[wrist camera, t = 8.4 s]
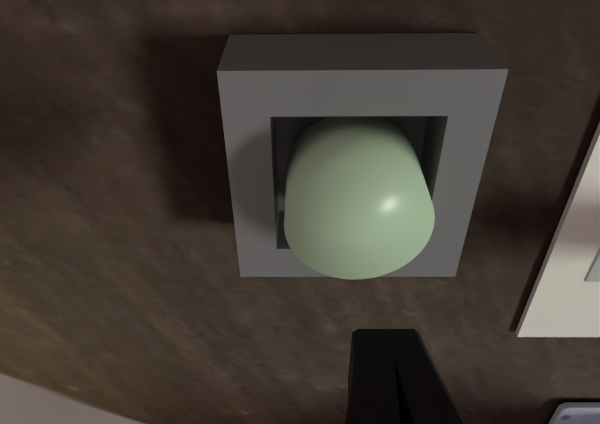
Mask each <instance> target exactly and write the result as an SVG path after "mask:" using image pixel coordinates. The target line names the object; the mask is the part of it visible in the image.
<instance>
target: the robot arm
mask: <svg viewBox="0 0 600 424" xmlns="http://www.w3.org/2000/svg"><path fill="white" fill-rule="evenodd" d="M345 424H467V423H466V421H465V419H464V418H463V416H462V414H461V413H460V411H459V409H458V408H457V406H456V404H455V403H454V401H453V399H452V397H451V396H450V394H449V392H448V390H447V388H446V387H445V385H444V383H443V381H442V379H441V377H440V375H439V374H438V372H437V370H436V368H435V366H434V364H433V362H432V360H431V358H430V356H429V354H428V352H427V350H426V347H425V345H424V343H423V341H422V339H421V336H420V334H419V332H418V331H416V330H415V329H357V330H356V331H354V332H352V343H351V354H350V365H349V376H348V410H347V416H346V422H345ZM548 424H600V402H567V403H562V404H560V405H559V406H558V407H557V409H556V411H555V412H554V414H553V416H552V418H551V420H550V421H549V423H548Z"/></svg>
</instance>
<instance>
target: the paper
mask: <svg viewBox="0 0 600 424" xmlns="http://www.w3.org/2000/svg"><path fill="white" fill-rule="evenodd" d="M515 333H516V335H517V337H600V121H599V124H598V126H597V129H596V131H595V134H594V136H593V139H592V141H591V144H590V146H589V149H588V151H587V154H586V156H585V159H584V161H583V164H582V166H581V169H580V171H579V174H578V176H577V179H576V181H575V184H574V186H573V189H572V191H571V194H570V196H569V199H568V201H567V204H566V206H565V209H564V211H563V214H562V216H561V219H560V221H559V224H558V226H557V229H556V231H555V234H554V236H553V239H552V241H551V244H550V246H549V249H548V251H547V254H546V256H545V259H544V261H543V264H542V266H541V269H540V271H539V274H538V276H537V279H536V281H535V284H534V286H533V289H532V291H531V294H530V296H529V299H528V301H527V304H526V307H525V309H524V312H523V314H522V317H521V319H520V322H519V324H518V327H517V329H516V332H515Z"/></svg>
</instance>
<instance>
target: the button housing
mask: <svg viewBox="0 0 600 424" xmlns="http://www.w3.org/2000/svg"><path fill="white" fill-rule="evenodd" d="M507 73H508V68H507V67H506V66H505V65H504V63H503V62H502V61H501V60H500V58H499V57H498V56H497V55H496V54H495V52H494V51H493V50H492V49H491V48H490V46H489V45H488V44H487V43H486V41H485V40H484V39H483V38H482V37H481V35H480V34H479V33H379V34H230V35H229V37H228V40H227V43H226V46H225V49H224V52H223V54H222V57H221V60H220V63H219V66H218V69H217V78H218V87H219V95H220V104H221V113H222V121H223V130H224V138H225V147H226V156H227V164H228V173H229V182H230V190H231V199H232V208H233V216H234V225H235V234H236V242H237V251H238V259H239V268H240V277H332V276H328V275H325V274H322V273H319V272H317V271H315V270H313V269H312V268H310V267H308V266H307V265H305V264H304V263H303V262H302V261H301V260H299V259H298V257H297V256H296V255H295V254H294V253H293V251H292V250H291V248H290V246H289V244H288V242H287V240H286V236H285V231H284V216H285V196H286V176H287V162H288V157H289V154H290V151H291V149H292V147H293V145H294V143H295V142H296V140H297V139H298V138H299V136H300V135H301V134H302V133H303V132H304V131H305V130H306V129H308V128H309V127H310V126H311V125H313V124H314V123H316V122H318V121H319V120H322V119H324V118H326V117H328V116H382V117H384V118H386V119H388V120H390V121H392V122H393V123H395V124H396V125H397V126H399V127H400V128H401V129H402V130H403V131H404V132H405V133H406V135H407V136H408V137H409V139H410V141H411V142H412V145H413V147H414V150H415V153H416V156H417V159H418V162H419V164H420V167H421V170H422V173H423V176H424V179H425V182H426V185H427V188H428V191H429V194H430V197H431V200H432V203H433V207H434V213H435V221H434V228H433V231H432V234H431V237H430V239H429V241H428V242H427V244H426V246H425V247H424V248H423V250H422V251H421V252H420V253H419V254H418V255H417V256H416V257H415V258H414V259H413V260H411V261H410V262H409V263H407V264H406V265H404V266H402V267H401V268H399V269H397V270H395V271H393V272H390V273H388V274H385V275H382V276H378V277H455V275H456V272H457V268H458V264H459V260H460V256H461V252H462V248H463V244H464V240H465V237H466V233H467V229H468V225H469V221H470V217H471V213H472V209H473V205H474V201H475V198H476V194H477V190H478V186H479V182H480V178H481V174H482V170H483V166H484V163H485V159H486V155H487V151H488V147H489V143H490V139H491V135H492V131H493V128H494V124H495V120H496V116H497V112H498V108H499V104H500V100H501V96H502V92H503V89H504V85H505V81H506V77H507Z"/></svg>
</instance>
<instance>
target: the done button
mask: <svg viewBox="0 0 600 424" xmlns="http://www.w3.org/2000/svg"><path fill="white" fill-rule="evenodd" d="M434 221H435V213H434V207H433V203H432V200H431V197H430V194H429V191H428V188H427V185H426V182H425V179H424V176H423V173H422V170H421V167H420V164H419V162H418V159H417V156H416V153H415V150H414V147H413V145H412V142H411V141H410V139H409V137H408V136H407V135H406V133H405V132H404V131H403V130H402V129H401V128H400V127H399V126H397V125H396V124H395V123H393V122H392V121H390V120H388V119H386V118H384V117H382V116H328V117H326V118H324V119H322V120H319V121H318V122H316V123H314V124H313V125H311V126H310V127H309V128H308V129H306V130H305V131H304V132H303V133H302V134H301V135H300V136H299V138H298V139H297V140H296V142H295V143H294V145H293V147H292V149H291V151H290V154H289V157H288V162H287V176H286V196H285V216H284V231H285V236H286V240H287V242H288V244H289V246H290V248H291V250H292V251H293V253H294V254H295V255H296V256H297V257H298V259H299V260H301V261H302V262H303V263H304V264H305V265H307V266H308V267H310V268H312V269H313V270H315V271H317V272H319V273H322V274H325V275H328V276H332V277H336V278H342V279H367V278H373V277H378V276H382V275H385V274H388V273H390V272H393V271H395V270H397V269H399V268H401V267H402V266H404V265H406V264H407V263H409V262H410V261H411V260H413V259H414V258H415V257H416V256H417V255H418V254H419V253H420V252H421V251H422V250H423V248H424V247H425V246H426V244H427V242H428V241H429V239H430V237H431V234H432V231H433V228H434Z"/></svg>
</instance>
